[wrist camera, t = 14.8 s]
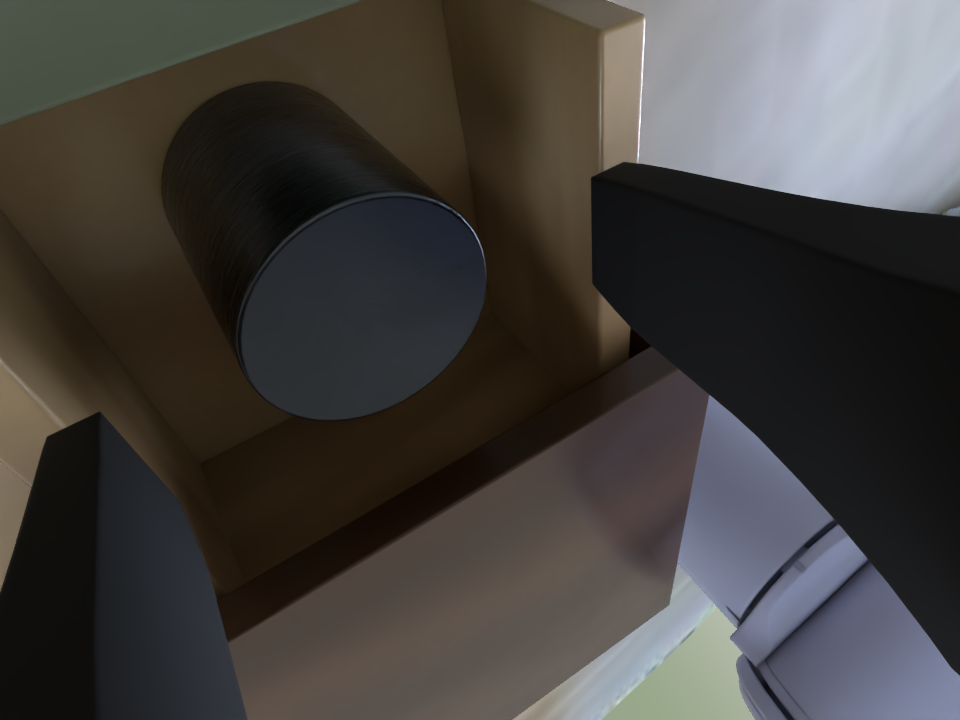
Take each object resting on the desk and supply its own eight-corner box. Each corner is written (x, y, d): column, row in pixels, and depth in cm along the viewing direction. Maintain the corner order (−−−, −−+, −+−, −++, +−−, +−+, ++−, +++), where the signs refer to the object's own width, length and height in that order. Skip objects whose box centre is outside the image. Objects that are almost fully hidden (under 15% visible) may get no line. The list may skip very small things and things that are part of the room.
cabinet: (44, 398, 14) (98, 720, 10) (508, 183, 18) (720, 343, 13) (260, 621, 23) (342, 843, 19) (539, 452, 27) (670, 604, 22)
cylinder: (336, 48, 11) (469, 146, 8) (387, 229, 14) (501, 349, 11) (114, 128, 10) (181, 271, 7) (217, 307, 13) (295, 462, 10)
